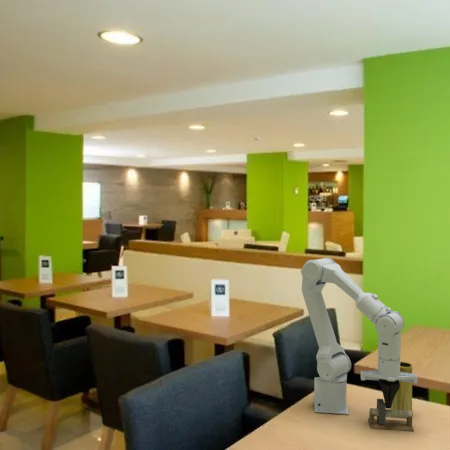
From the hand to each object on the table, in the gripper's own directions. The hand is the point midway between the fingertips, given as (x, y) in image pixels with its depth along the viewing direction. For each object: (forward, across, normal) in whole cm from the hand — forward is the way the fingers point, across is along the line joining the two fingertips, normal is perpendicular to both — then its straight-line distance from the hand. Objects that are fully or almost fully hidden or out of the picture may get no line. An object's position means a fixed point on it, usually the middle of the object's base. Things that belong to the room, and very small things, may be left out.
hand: (388, 407), depth 134 cm
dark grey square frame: (+4, -2, 0) cm, 4 cm away
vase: (+5, +5, +9) cm, 12 cm away
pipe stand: (+5, +1, 0) cm, 5 cm away
